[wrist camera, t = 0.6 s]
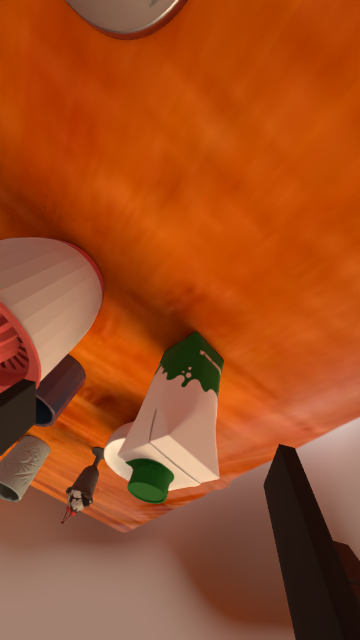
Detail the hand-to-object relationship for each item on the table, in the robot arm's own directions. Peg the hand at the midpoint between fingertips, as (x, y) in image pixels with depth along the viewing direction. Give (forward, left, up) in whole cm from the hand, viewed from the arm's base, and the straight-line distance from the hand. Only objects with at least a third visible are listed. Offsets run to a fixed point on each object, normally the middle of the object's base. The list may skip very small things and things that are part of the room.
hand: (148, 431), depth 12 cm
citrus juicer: (+4, -21, -23) cm, 31 cm away
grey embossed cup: (+59, -37, -23) cm, 74 cm away
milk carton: (+13, +1, -23) cm, 27 cm away
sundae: (+53, -17, -23) cm, 61 cm away
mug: (+27, -25, -23) cm, 43 cm away
